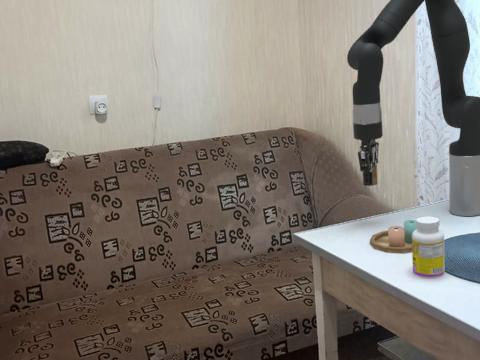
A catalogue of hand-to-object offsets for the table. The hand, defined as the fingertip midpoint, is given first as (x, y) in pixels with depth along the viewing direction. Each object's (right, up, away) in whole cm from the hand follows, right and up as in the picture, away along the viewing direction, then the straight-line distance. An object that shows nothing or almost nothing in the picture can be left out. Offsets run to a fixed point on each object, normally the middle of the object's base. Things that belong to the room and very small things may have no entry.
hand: (370, 183), depth 158 cm
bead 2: (+3, -16, -15) cm, 22 cm away
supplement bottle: (+6, -20, -30) cm, 37 cm away
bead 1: (0, 0, 0) cm, 0 cm away
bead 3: (+8, -15, -12) cm, 20 cm away
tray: (+5, -16, -12) cm, 20 cm away
